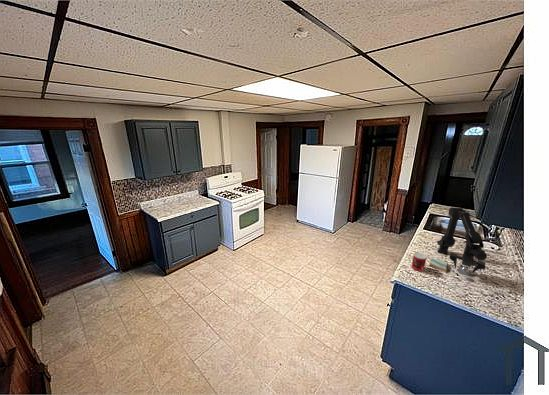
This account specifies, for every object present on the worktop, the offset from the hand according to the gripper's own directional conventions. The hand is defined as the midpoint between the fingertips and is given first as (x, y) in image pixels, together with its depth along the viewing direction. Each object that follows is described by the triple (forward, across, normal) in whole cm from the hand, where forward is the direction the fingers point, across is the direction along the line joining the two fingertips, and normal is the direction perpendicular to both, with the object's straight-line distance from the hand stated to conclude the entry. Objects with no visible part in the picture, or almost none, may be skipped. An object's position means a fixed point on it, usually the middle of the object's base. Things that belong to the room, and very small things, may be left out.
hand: (463, 270), depth 154 cm
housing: (+2, 0, 0) cm, 2 cm away
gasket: (+2, +4, -7) cm, 8 cm away
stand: (+1, -14, -3) cm, 14 cm away
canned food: (+1, -25, -16) cm, 30 cm away
